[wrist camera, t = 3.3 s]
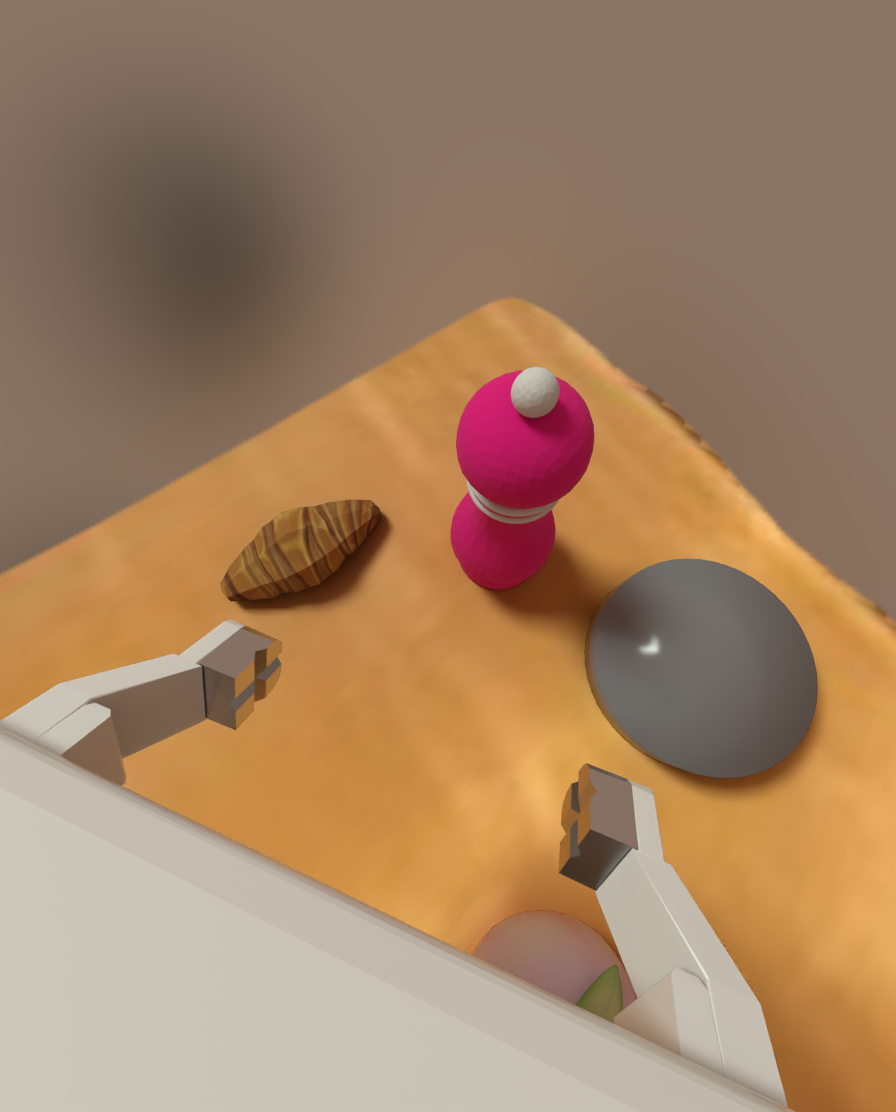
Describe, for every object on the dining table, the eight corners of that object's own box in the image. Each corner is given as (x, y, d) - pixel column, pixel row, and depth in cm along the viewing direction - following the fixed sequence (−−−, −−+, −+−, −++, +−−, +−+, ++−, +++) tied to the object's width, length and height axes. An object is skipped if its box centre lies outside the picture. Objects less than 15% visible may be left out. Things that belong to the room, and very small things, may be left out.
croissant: (250, 636, 33) (214, 626, 28) (217, 564, 35) (178, 544, 30) (402, 547, 35) (392, 525, 30) (363, 484, 37) (348, 453, 32)
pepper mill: (551, 521, 35) (655, 315, 16) (533, 606, 33) (628, 488, 14) (464, 502, 36) (464, 283, 17) (442, 584, 34) (412, 442, 15)
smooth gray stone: (795, 783, 29) (832, 793, 26) (582, 754, 30) (594, 761, 27) (773, 580, 33) (802, 569, 30) (586, 561, 34) (598, 549, 31)
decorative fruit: (496, 847, 28) (512, 926, 19) (617, 914, 27) (701, 1037, 17) (433, 1010, 26) (414, 1197, 16) (562, 1093, 24) (625, 1351, 15)
